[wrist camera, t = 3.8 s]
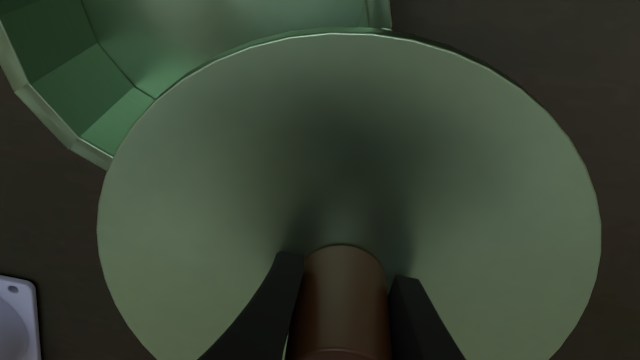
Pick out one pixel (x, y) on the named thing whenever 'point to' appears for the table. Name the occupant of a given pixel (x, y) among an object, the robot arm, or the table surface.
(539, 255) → the lid
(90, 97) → the pot
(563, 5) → the table surface
